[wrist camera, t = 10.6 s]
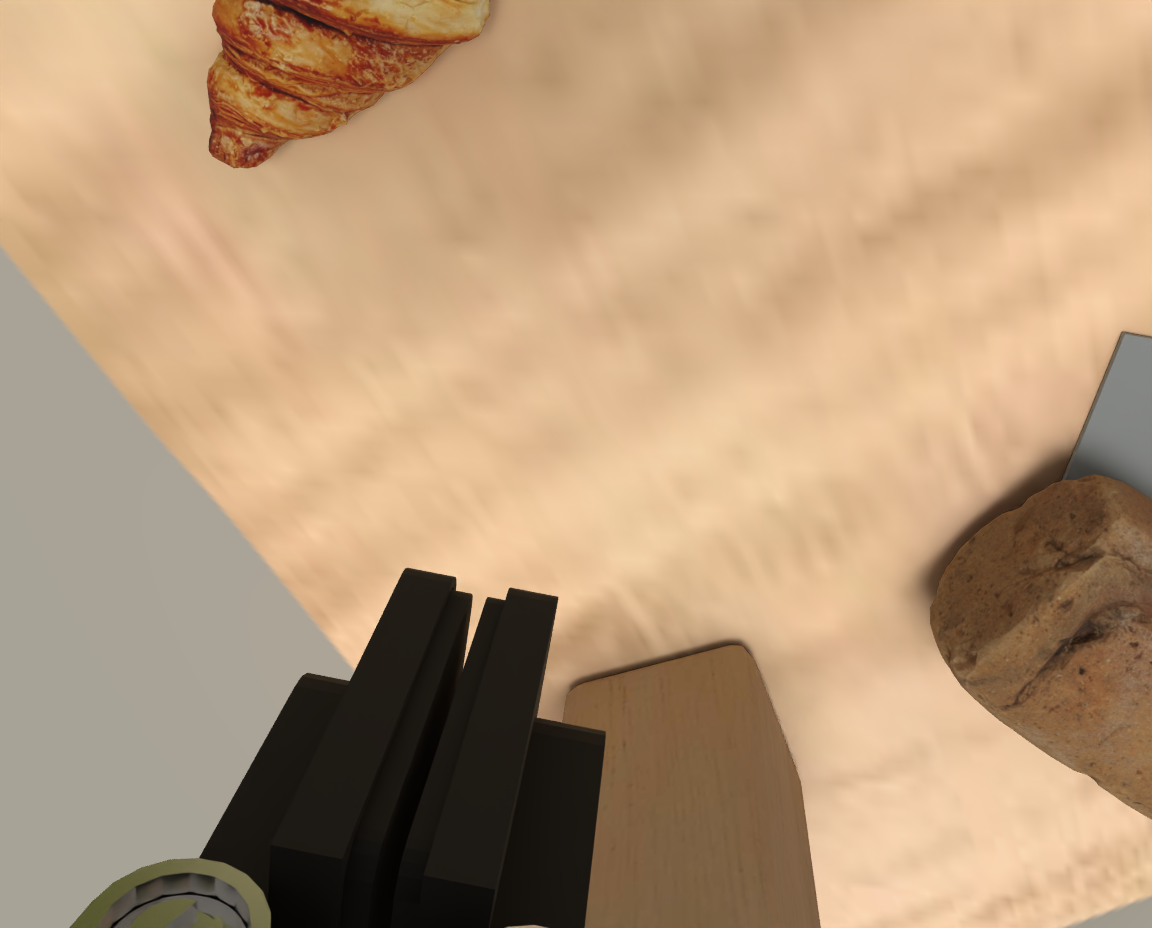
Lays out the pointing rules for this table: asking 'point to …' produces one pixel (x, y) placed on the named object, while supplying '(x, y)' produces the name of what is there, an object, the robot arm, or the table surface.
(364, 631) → the table surface
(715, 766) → the wooden block
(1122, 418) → the mat
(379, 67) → the croissant
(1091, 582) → the brown rounded lump
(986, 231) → the table surface
